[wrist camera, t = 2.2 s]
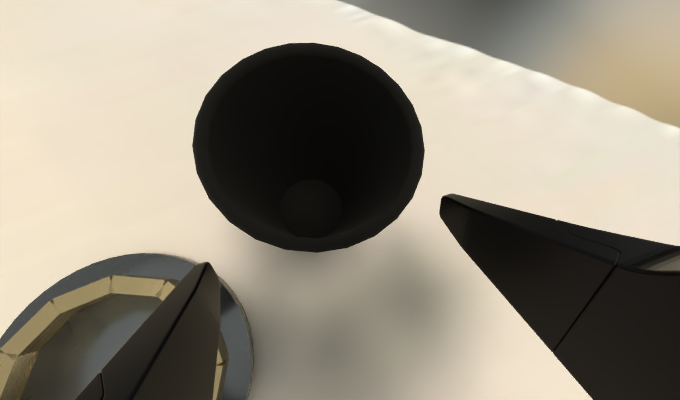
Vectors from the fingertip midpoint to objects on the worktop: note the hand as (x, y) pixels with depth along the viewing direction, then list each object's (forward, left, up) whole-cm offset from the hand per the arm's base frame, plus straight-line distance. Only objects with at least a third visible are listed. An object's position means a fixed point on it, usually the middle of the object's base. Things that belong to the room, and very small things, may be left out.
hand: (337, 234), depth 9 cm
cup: (+3, +1, -10) cm, 11 cm away
